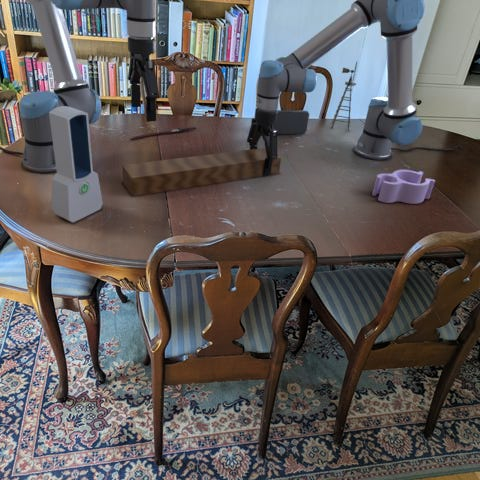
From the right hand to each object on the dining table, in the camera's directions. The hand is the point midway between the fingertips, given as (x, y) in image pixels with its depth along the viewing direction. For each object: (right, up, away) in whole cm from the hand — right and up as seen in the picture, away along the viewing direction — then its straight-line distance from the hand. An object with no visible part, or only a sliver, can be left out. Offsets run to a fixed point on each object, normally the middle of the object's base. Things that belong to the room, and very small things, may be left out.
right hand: (259, 168), depth 171 cm
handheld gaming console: (+11, +21, +35) cm, 43 cm away
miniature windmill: (+41, +28, +51) cm, 70 cm away
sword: (-38, +17, +21) cm, 47 cm away
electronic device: (-54, -18, -36) cm, 68 cm away
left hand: (-36, +11, -33) cm, 50 cm away
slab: (-19, -5, -10) cm, 22 cm away
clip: (+49, -11, -7) cm, 51 cm away
